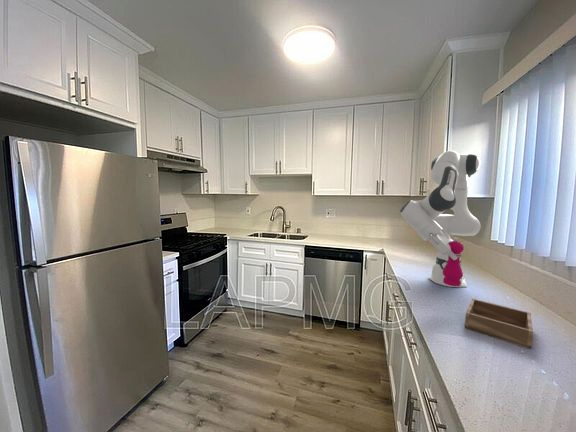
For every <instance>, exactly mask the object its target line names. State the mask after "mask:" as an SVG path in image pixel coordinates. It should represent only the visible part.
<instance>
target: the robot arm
mask: <svg viewBox="0 0 576 432" xmlns="http://www.w3.org/2000/svg"><path fill="white" fill-rule="evenodd" d="M430 165H431V166H430V169H431V170H430V171H431V173H430V178H431V180H432V182H433V183H434V184H437V185H438V186H437V187H435V188H434V189H433V191H431V192H430V193H429V194H428V195H427V196H426V197H424V198H423V199H420V200H413V199H411V200H408V201H407V202H406V203H405V204H404V205H403V206H402V207H401V208H400V211H399V213H400V215H401V217H402V218H403V219H404V220H405V222H406V223H407V224H408V225H409V226H410V227H412V228H413V229H414V231H415V232H416V233H417V234H418V235H419V237H420V238H421V239H422V240H424V242H427V241H429V242H430V243H431V244H432V246H433V247H434V248H435V249H436V250H437V256H436V259H435V264H433V265H432V270H431V275H429V276H428V278H427V279H428V280H430V281H432V282H433V283H435V284H437V285H441V286H445V287H450V288H451V287H452V288H467V286H468V285H467V281H466V279H465V277H464V276H463V277H462V278H461V279H460V281H461V285H460V286H450V285H447V284H445V283H444V282H443V278H445V276H444V275H443V269H444V267H445V266H446V264H447V262H448V256H450V257H451V258H452V259H453V260H456V259H457V256H456V255H455V254H454V253H453V252H452V251H451V247H450V245H449V244H448V243H449V242H451V241H453V239H452V237H451V235H452V236H460V237H461V236H462V237H469V236H470V237H473V236H476V235H477V234H479V232H480V230H481V226H482V225H481V222H480V220H479V219H478V218H477V217H476V216H474V215H473V214H472V213H471V211H470V210H469V207H468V190H469V178H471V177H472V176H473V175H475V174H476V173H477V172H478V171H479V168H480V166H481V160H480V157H479V156H478V155H477V154H475V153H468V154H467V153H461V154H459V153H458V152H457V151H454V150H447V151H444V152H442V153H441V154H440V155H439V156H438V157H435V158H433V160H432V161H431V164H430ZM449 210H452V211H453V214H447V213H445V212H447V211H449ZM444 213H445V214H444ZM461 258H462V256H461V257H460V260H459V263H460V267H461V268H462V259H461ZM462 272H463V273H464V271H463V270H462Z"/></svg>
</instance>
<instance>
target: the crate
mask: <svg viewBox="0 0 576 432" xmlns="http://www.w3.org/2000/svg"><path fill="white" fill-rule="evenodd" d="M464 319H465V320H464V321H465V322H464V329H466V330H469V331H472V332H476V333H478V334H479V333H480V334H482V335H485V336H489V337H491V338H495V339H498V340H501V341H504V342H507V343H511V344H513V343H514V344H513V345H516V344H517V346H520V347H524V348H525V349H526V348H527V349H528V350H532V343H533V336H534V328H533V321H532V319H533V318H532V313H531V312H528V311H524V310H520V309H516V308H513V307H508V306H504V305H500V304H496V303H493V302H492V303H491V302H489V301H484V300H479V299H476V298H471V300H470V302H469V305H468V307H467V309H466V312H465V318H464Z"/></svg>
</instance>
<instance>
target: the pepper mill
mask: <svg viewBox="0 0 576 432" xmlns="http://www.w3.org/2000/svg"><path fill="white" fill-rule="evenodd" d="M452 240H453V241H451V242H449V243H448V244H449V245H450V247H451V251H452V252H453V253H454V254H455V255H456V256H457V259H456V260H453V259H452V258H451V257H450V256H448V262H447V264H446V266H445V267H444V269H443V275H444V276H445V278H443V282H444V283H445V284H447V285H450V286H460V285H461V281H460V279H461V278H462V277H464V271H463V269H462V266H461V267H460V263H459V260H461V259H460V257H461V258H462V252H463V251H464V245H463V243H461V242H460V241H459V239H458V237H454V238H453V239H452ZM462 271H463V272H462ZM450 286H449V287H450Z"/></svg>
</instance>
